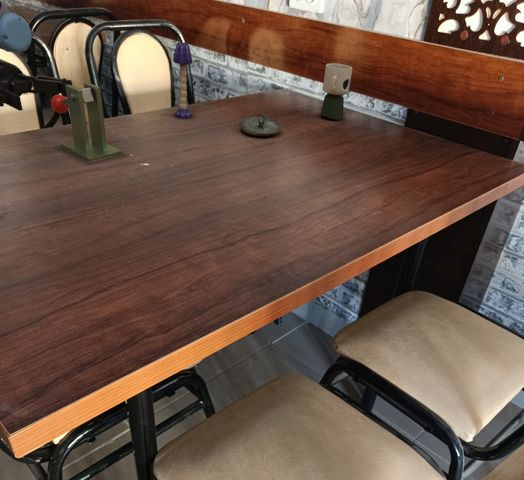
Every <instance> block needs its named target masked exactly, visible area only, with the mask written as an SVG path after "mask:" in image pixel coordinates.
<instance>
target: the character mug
mask: <svg viewBox="0 0 524 480" xmlns="http://www.w3.org/2000/svg"><path fill="white" fill-rule="evenodd" d="M352 75H353V67H352V66H351V65H348V64H343V63H333V62H332V63H326V64H325V70H324V75H323V76H324V77H323V84H322V91H323V92H324V93H326V94H325V95H324V97H323V102H322V105H321V109H320V110H321V111H320V114H319V115H320V116H321V117H325V118H328V120H341V119H343V117H344V104H345V103H344V102H345V99H344V95H348V94H349V91H350V87H351V80H352Z"/></svg>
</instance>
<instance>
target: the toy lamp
mask: <svg viewBox="0 0 524 480" xmlns="http://www.w3.org/2000/svg"><path fill="white" fill-rule="evenodd" d="M172 62H173V63H175V64H177V65H179V83H180V84H179V108H178V109H177V110H176V111H175V116H174V117H175V118H177V119H183V120H187V119H191V118H192V116H193V115H192V112H191V111H190V110H189V109H187V100H188V99H187V94H188V92H187V89H188V87H187V86H188V85H187V81H188V79H187V78H188V77H187V73H188V72H187V65H191V64H193V58H192V52H191V47H190V44H189V43H187V42H177V43H176V44H175V48H174V53H173V58H172Z"/></svg>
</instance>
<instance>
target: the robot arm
mask: <svg viewBox="0 0 524 480" xmlns="http://www.w3.org/2000/svg"><path fill="white" fill-rule="evenodd" d="M32 39H33V37H32V30H31V28H30V25H29V23H28V22H27V21H26V19H24V18H23V17H22V16H20V15H19V14H17V13H15V12H11V11H10V10H9V9H8V8H7V6H6V5H5V4H4V3H3V1H1V0H0V50H2V51H4V52H6V53H7V52H8V53H15V54H21V53H24V52H25V51H27V50H28V49H29V48H30V46H31V44H32ZM65 85H72V86H74V85H73V80H72V79H67V78H66V77H63V78H61V77H55V76H47V75H44V74H40V73H36V74H35V75H26V74H25V73H24V72H23V71H22V70H21V69H20V68H19V66H17V65H16V64H13V63H11V62H8V61H6V60H4V59H2V58H0V107H1V108H2V107H5V105H7V106H9V107H10V108H13V109H15V110H17V111H21V112H22V111H23V105H22V100H21V96H22V95H23V94H25V95H26V94H39V93H41V92H42V93H49V94H50V93H51V94H59V95H62V96H64V97H65V98H67V93H66V87H65Z"/></svg>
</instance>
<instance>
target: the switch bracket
mask: <svg viewBox="0 0 524 480" xmlns="http://www.w3.org/2000/svg"><path fill="white" fill-rule="evenodd" d="M72 85H73V84H72ZM72 85H65V87H66V93H67V97H66V99H68V106H69V109H68V111H69V119H70V124H71V131H72V135H73V136H72V137H73V140H68V141H63V142H59V146H60V147H61V148H63V149H65V150H68V151H69V152H71V153H73V154H75V155H77V156H79V157H80V158H82V159H84V160H86V161H87V162H91V161H96V160H101V159H105V158H111V157H114V156H119V155H123V154H124V152H123V150H122V149H120V148H118V147H115V146H113V145H111V144H109V143H108V142H107V136H106V126H105V116H104V110H103V109H104V108H103V102H102V100H103V99H102V92H101V87H100V86H98V85H95V84H93V83H90V82H89V81H87V82H83V89H84V88H91V92H92V95H93V99H94V101H93V102H89V103H85V104H84V101H83V94H82V90H81V89H82V88H79V87H76V86H74V85H73V86H72ZM85 105H86V110H85ZM86 111H87V116H86ZM87 118H88V124H87ZM88 126H89V131H90V132H89V131H88ZM89 135H90V136H89Z"/></svg>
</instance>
